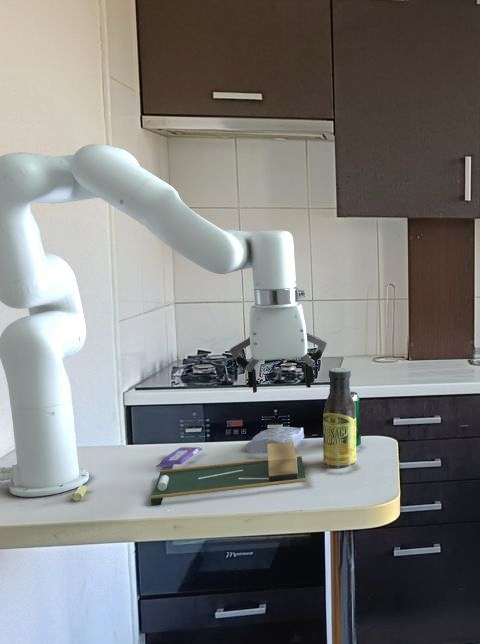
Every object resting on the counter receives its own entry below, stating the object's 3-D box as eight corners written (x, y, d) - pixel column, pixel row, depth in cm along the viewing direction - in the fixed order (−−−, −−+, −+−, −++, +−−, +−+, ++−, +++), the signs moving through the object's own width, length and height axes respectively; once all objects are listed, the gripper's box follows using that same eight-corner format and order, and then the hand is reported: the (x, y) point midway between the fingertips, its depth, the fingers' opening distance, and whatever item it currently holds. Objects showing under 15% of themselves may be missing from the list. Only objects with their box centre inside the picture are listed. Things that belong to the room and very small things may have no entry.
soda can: (335, 453, 156) (332, 397, 154) (338, 445, 161) (336, 391, 159) (359, 452, 156) (357, 396, 154) (362, 445, 161) (360, 390, 159)
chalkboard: (151, 505, 128) (150, 496, 128) (160, 478, 142) (159, 470, 141) (307, 487, 136) (306, 479, 136) (302, 463, 149) (301, 455, 149)
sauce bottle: (318, 473, 144) (313, 371, 141) (332, 462, 150) (328, 365, 147) (349, 475, 142) (345, 373, 139) (363, 464, 148) (359, 366, 145)
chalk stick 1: (82, 492, 131) (82, 501, 131) (87, 485, 135) (87, 493, 135) (72, 492, 130) (72, 501, 130) (78, 484, 134) (77, 493, 134)
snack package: (179, 462, 145) (154, 462, 145) (180, 471, 145) (155, 471, 145) (205, 443, 156) (182, 443, 156) (206, 452, 156) (183, 452, 157)
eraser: (269, 481, 136) (268, 460, 135) (268, 463, 146) (267, 443, 145) (297, 478, 137) (296, 457, 137) (294, 461, 147) (293, 441, 147)
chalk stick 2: (160, 481, 132) (168, 485, 132) (163, 473, 135) (170, 477, 136) (155, 488, 132) (163, 492, 132) (158, 480, 135) (165, 484, 136)
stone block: (245, 466, 153) (292, 457, 152) (239, 444, 152) (286, 434, 152) (264, 450, 165) (308, 441, 164) (259, 429, 164) (303, 420, 163)
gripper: (321, 293, 144) (326, 380, 147) (226, 298, 139) (233, 388, 141) (325, 297, 137) (330, 388, 139) (225, 302, 131) (232, 397, 134)
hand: (281, 388), depth 140 cm, fingers open, 9 cm apart
